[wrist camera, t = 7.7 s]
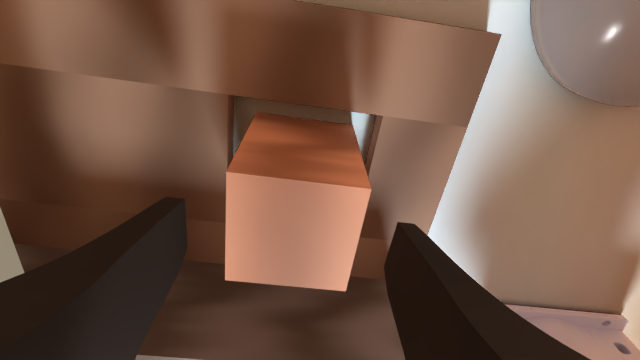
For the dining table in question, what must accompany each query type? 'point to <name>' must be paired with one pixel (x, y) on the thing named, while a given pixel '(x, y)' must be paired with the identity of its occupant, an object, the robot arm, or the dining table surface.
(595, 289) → the dining table surface
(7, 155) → the puzzle board
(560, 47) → the saucer
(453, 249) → the dining table surface
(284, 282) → the block
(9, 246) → the sliding lid
